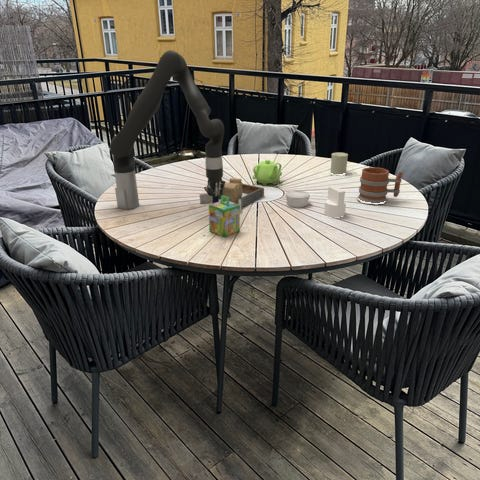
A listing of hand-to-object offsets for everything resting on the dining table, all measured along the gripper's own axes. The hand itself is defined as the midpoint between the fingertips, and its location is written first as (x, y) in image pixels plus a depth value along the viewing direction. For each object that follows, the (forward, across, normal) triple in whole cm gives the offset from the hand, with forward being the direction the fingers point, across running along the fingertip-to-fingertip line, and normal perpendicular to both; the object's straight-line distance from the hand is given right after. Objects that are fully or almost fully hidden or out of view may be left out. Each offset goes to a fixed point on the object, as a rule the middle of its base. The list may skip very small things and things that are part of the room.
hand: (215, 203), depth 191 cm
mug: (+4, +53, -57) cm, 78 cm away
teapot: (+3, +48, +2) cm, 48 cm away
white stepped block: (+4, +24, -47) cm, 53 cm away
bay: (+3, +16, 0) cm, 16 cm away
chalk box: (+4, -17, -18) cm, 25 cm away
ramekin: (+4, +27, -27) cm, 39 cm away
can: (+3, +85, -23) cm, 88 cm away
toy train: (+3, +14, 0) cm, 14 cm away
